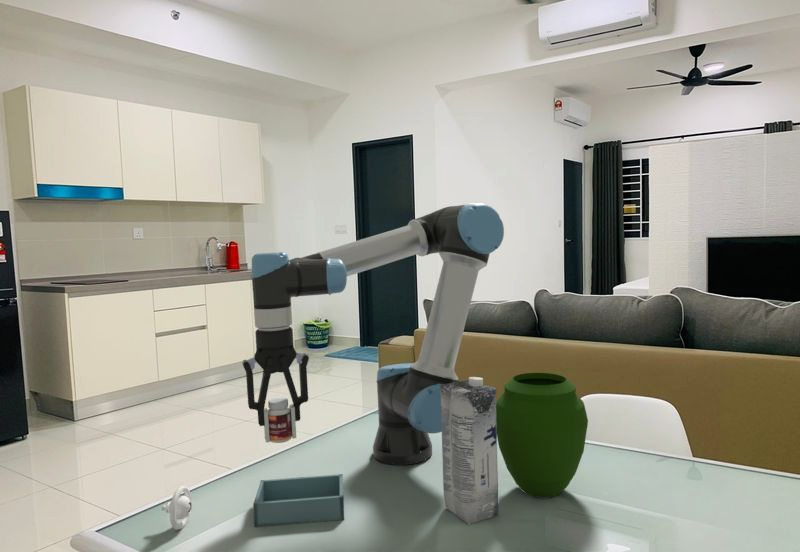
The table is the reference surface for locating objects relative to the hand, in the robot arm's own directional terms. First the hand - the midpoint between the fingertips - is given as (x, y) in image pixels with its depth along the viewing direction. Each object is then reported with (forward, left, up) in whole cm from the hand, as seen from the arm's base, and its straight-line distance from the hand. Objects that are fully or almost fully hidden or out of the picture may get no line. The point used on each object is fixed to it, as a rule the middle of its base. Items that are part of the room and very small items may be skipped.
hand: (280, 438), depth 123 cm
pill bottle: (0, 0, -1) cm, 1 cm away
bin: (-4, +3, -14) cm, 15 cm away
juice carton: (-38, +10, -15) cm, 42 cm away
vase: (-55, +3, -15) cm, 57 cm away
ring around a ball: (+20, +6, -15) cm, 26 cm away
